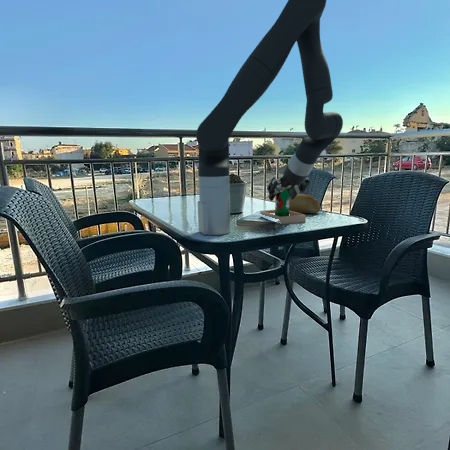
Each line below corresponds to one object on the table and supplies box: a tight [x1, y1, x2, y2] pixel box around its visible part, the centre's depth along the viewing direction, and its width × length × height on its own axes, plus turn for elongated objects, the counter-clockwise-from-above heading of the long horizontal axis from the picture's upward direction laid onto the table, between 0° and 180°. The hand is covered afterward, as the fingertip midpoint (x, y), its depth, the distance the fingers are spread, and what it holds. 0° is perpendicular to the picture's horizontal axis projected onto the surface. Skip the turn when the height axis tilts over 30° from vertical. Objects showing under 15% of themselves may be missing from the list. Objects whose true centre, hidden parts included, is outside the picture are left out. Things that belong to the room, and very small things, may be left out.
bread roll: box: [289, 193, 321, 214], centre depth 128 cm, size 10×15×8 cm, turn 82°
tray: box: [259, 209, 307, 225], centre depth 117 cm, size 10×15×2 cm, turn 21°
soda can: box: [274, 184, 291, 217], centre depth 116 cm, size 5×5×12 cm
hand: (280, 198), depth 116 cm, fingers open, 8 cm apart
